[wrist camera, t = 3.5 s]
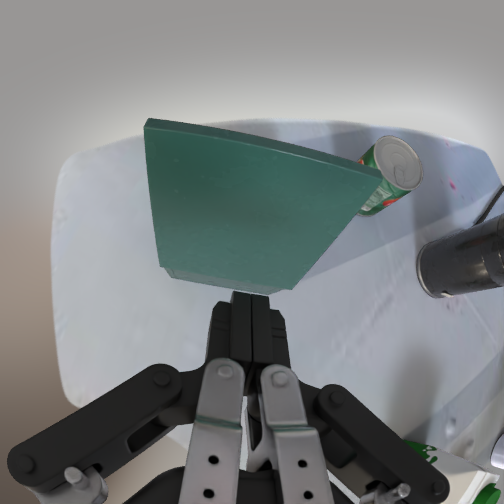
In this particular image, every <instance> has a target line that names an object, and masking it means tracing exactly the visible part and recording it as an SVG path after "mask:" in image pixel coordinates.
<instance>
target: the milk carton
mask: <svg viewBox="0 0 504 504" xmlns="http://www.w3.org/2000/svg"><path fill="white" fill-rule="evenodd" d="M402 440H403V439H402ZM404 441H405V442H406V443H407V444H408V445H409V446H411V447H412V448H413V449H414V450H415V451H416V452H417V453H419V454H420V455H421V456H422V457H423V458H424V459H426V460H427V461H428V462H429V463H430V464H432V465H433V466H434V467H435V468H436V469H437V470H439V471H440V472H441V473H442V474H443V475H445V476H446V478H447V479H448V481H449V484H450V493H449V496H448V497H447V499H446V500H445V501H444V502H442V503H440V504H496V503H497V501H498V499H499V497H500V494H501V491H500V490H499V489H496V488H494V486H495V485H496V484H495V483H496V482H497V480H498V478H499V477H500V475H498V474H496V473H494V472H493V471H491V470H489V469H488V468H486V467H484V466H481V465H479V464H477V463H475V462H472V461H468V460H466V459H463V458H461V457H458V456H456V455H453V454H451V453H448V452H446V451H443V450H441V449H438V448H435V447H432V446H429V445H425V444H420V443H416V442H411V441H407V440H404Z"/></svg>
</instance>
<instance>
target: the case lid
mask: <svg viewBox="0 0 504 504" xmlns="http://www.w3.org/2000/svg"><path fill="white" fill-rule="evenodd" d="M144 140H145V153H146V164H147V174H148V184H149V193H150V201H151V209H152V217H153V225H154V232H155V238H156V245H157V251H158V258H159V264H160V267H164V268H170V269H175V270H180V271H185V272H191V273H196V274H202V275H207V276H213V277H218V278H224V279H230V280H235V281H241V282H247V283H253V284H259V285H265V286H271V287H277V288H283V289H289V290H292V289H293V288H294V286H295V285H296V284H297V283H298V282H299V281H300V280H301V279H302V277H303V276H304V275H305V274H306V273H307V272H308V270H309V269H310V268H311V267H312V266H313V265H314V264H315V262H316V261H317V260H318V259H319V258H320V257H321V255H322V254H323V253H324V252H325V251H326V250H327V248H328V247H329V246H330V245H331V244H332V242H333V241H334V240H335V239H336V238H337V236H338V235H339V234H340V233H341V232H342V230H343V229H344V228H345V227H346V226H347V224H348V223H349V222H350V221H351V220H352V218H353V217H354V216H355V215H356V213H357V212H358V211H359V210H360V209H361V207H362V206H363V205H364V204H365V202H366V201H367V200H368V199H369V197H370V196H371V195H372V194H373V192H374V191H375V190H376V189H377V187H378V186H379V185H380V183H381V182H382V181H383V177H382V173H381V170H379V169H376V168H373V167H370V166H367V165H364V164H361V163H358V162H354V161H351V160H348V159H345V158H341V157H338V156H334V155H331V154H327V153H324V152H320V151H317V150H313V149H309V148H305V147H302V146H298V145H294V144H290V143H286V142H281V141H277V140H273V139H269V138H264V137H260V136H255V135H250V134H245V133H241V132H235V131H230V130H225V129H220V128H214V127H208V126H202V125H196V124H190V123H183V122H176V121H169V120H160V119H153V118H148V120H147V122H146V123H145V125H144Z"/></svg>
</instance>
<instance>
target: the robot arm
mask: <svg viewBox="0 0 504 504" xmlns="http://www.w3.org/2000/svg"><path fill="white" fill-rule="evenodd" d="M503 191H504V186H503V187H502V188H501V189H500V191H499V192H498V193H497V195H496V196H495V198H494V199H493V200H492V202H491V203H490V205H489V206H488V208H487V210H486V211H485V213H484V214H483V216H482V217H481V218H480V220H479V221H478V222H477V223H476V224H475V225H474V226H473V227H471V228H468V229H466V230H463V231H461V232H458V233H456V234H453V235H451V236H448V237H446V238H443V239H440V240H438V241H435V242H431V243H428V244H426V245H425V246H424V247H423V248H422V249H421V251H420V253H419V255H418V259H417V274H418V279H419V282H420V284H421V286H422V288H423V289H424V291H425V292H426V293H427V294H428V295H430V296H431V297H434V298H443V297H446V296H447V297H450V298H451V297H454V296H452V295H459V294H465V293H470V292H476V291H482V290H487V289H492V288H497V287H502V286H504V214H501V215H499V216H497V217H494V218H492V219H490V220H488V221H485V222H483V221H484V220H485V218H486V217H487V215H488V213H489V212H490V210H491V209H492V207H493V206H494V204H495V202H496V201H497V200H498V198H499V197H500V195H501V194H502V193H503ZM482 222H483V223H482ZM243 396H247V407H246V409H245V424H246V435H247V446H248V459H247V465H246V471H245V470H241V469H239V465H240V454H241V444H242V426H241V411H242V401H243ZM191 423H194V424H193V429H192V434H191V439H190V445H189V450H188V455H187V460H186V465H185V466H182V467H177V468H173V469H170V470H168V471H165V472H163V473H161V474H160V475H158V476H157V477H155V478H154V479H153V480H152V481H150V482H149V483H148V484H147V485H145V486H144V487H143V488H142V489H140V490H139V491H138V492H137V493H135V494H134V495H133V496H132V497H130V498H129V499H128V500H127V501H125V502H124V503H123V504H354V503H353V502H352V501H351V500H350V499H349V498H348V497H347V496H346V495H345V494H344V493H343V492H342V491H341V490H340V489H339V488H338V487H337V486H336V485H335V484H333V483H332V482H331V481H329V477H328V473H327V469H328V470H329V471H330V472H331V473H332V474H333V475H334V476H335V477H336V478H337V479H338V480H340V481H341V482H342V483H343V484H344V485H345V486H346V487H347V488H348V489H349V490H351V491H352V492H353V493H354V494H355V495H356V496H357V497H358V498H360V502H359V504H440V503H442V502H444V501H445V500H446V499H447V497H448V496H449V493H450V484H449V481H448V479H447V478H446V476H445V475H443V474H442V473H441V472H440V471H439V470H437V469H436V468H435V467H434V466H433V465H432V464H430V463H429V462H428V461H427V460H426V459H424V458H423V457H422V456H421V455H420V454H419V453H417V452H416V451H415V450H414V449H413V448H412V447H411V446H409V445H408V444H407V443H406V442H405V441H404V440H402V439H401V438H400V437H399V436H398V435H397V434H396V433H395V432H393V431H392V430H391V429H390V428H389V427H388V426H387V425H385V424H384V423H383V422H382V421H381V420H380V419H379V418H378V417H377V416H375V415H374V414H373V413H372V412H371V411H370V410H369V409H368V408H367V407H365V406H364V405H363V404H362V403H361V402H360V401H359V400H358V399H357V398H356V397H354V396H353V395H352V394H351V393H350V392H349V391H348V390H347V389H345V388H344V387H342V386H340V385H336V384H329V385H326V386H324V387H323V388H322V389H319V388H316V387H313V386H310V385H307V384H305V383H303V382H301V381H300V380H299V379H298V378H297V376H296V374H295V373H294V372H293V371H292V370H291V366H290V358H289V350H288V342H287V334H286V327H285V319H284V318H283V316H282V315H281V313H280V312H279V310H273V309H270V304H269V297H268V296H262V295H255V294H251V295H250V294H249V293H243V292H237V291H233V292H232V296H231V300H230V303H228V302H222V301H219V302H218V303H217V304H216V305H215V307H214V308H213V311H212V316H211V321H210V327H209V332H208V340H207V348H206V356H205V363H204V364H203V365H202V366H201V367H200V368H198V369H196V370H193V371H186V372H179V371H178V370H177V369H175V368H174V367H172V366H170V365H167V364H154V365H151V366H149V367H147V368H146V369H144V370H143V371H141V372H139V373H138V374H136V375H135V376H133V377H131V378H130V379H128V380H127V381H125V382H123V383H122V384H120V385H119V386H117V387H115V388H114V389H112V390H111V391H109V392H107V393H106V394H104V395H102V396H101V397H99V398H98V399H96V400H94V401H93V402H91V403H89V404H88V405H86V406H84V407H83V408H81V409H79V410H78V411H76V412H74V413H73V414H71V415H69V416H67V417H66V418H64V419H62V420H61V421H59V422H57V423H55V424H54V425H52V426H50V427H48V428H47V429H45V430H43V431H41V432H40V433H38V434H36V435H34V436H33V437H31V438H30V439H27V440H26V441H24V442H22V443H20V444H18V445H17V446H15V447H14V448H12V449H11V451H10V452H9V454H8V458H7V465H8V469H9V472H10V473H11V475H12V476H13V478H14V479H15V480H16V481H17V482H19V483H20V484H22V485H23V486H25V487H26V488H27V489H28V490H30V491H31V492H33V493H34V494H35V496H36V497H37V499H38V500H39V501H40V503H41V504H102V503H104V502H105V501H106V499H107V497H108V486H107V484H106V482H105V481H104V479H105V478H106V477H108V476H109V475H111V474H112V473H114V472H115V471H117V470H118V469H119V468H121V467H122V466H124V465H125V464H126V463H128V462H129V461H131V460H132V459H134V458H135V457H136V456H138V455H139V454H141V453H142V452H143V451H145V450H146V449H147V448H149V447H150V446H151V445H153V444H154V443H155V442H157V441H158V440H160V439H161V438H162V437H163V436H165V435H166V434H167V433H169V432H170V431H171V430H173V429H174V428H175V427H176V426H177V425H184V424H191Z"/></svg>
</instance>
